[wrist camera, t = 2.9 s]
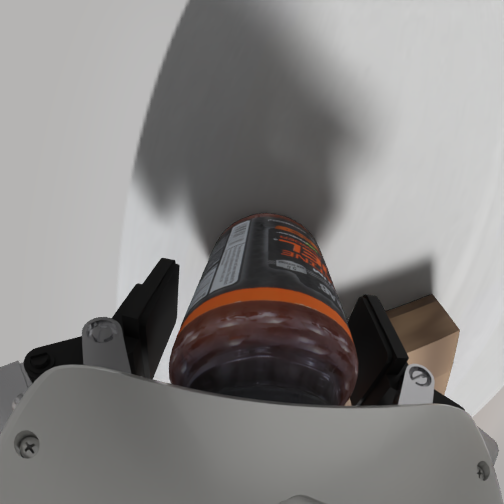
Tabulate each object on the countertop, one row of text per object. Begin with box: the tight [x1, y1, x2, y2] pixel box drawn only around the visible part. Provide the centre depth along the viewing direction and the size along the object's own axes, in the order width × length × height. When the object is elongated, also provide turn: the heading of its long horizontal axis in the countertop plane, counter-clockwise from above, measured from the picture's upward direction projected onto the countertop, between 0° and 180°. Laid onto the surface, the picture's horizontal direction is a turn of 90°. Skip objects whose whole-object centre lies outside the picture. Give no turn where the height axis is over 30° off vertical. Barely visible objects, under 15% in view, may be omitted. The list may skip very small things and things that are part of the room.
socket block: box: [344, 294, 460, 406], centre depth 19 cm, size 16×16×4 cm
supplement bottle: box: [169, 213, 358, 406], centre depth 10 cm, size 6×6×11 cm
